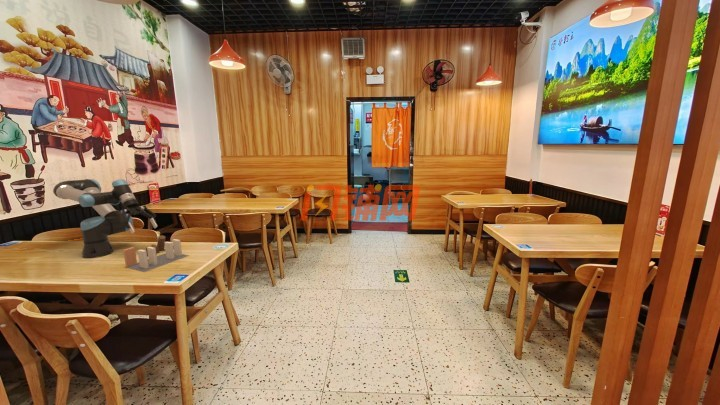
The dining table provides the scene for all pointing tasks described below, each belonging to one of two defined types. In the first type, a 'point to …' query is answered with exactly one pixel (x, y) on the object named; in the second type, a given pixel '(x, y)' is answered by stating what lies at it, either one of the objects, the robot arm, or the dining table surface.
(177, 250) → the domino
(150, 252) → the domino
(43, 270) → the dining table surface
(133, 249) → the domino
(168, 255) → the domino
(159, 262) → the mat
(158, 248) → the brown irregular block
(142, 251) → the domino
